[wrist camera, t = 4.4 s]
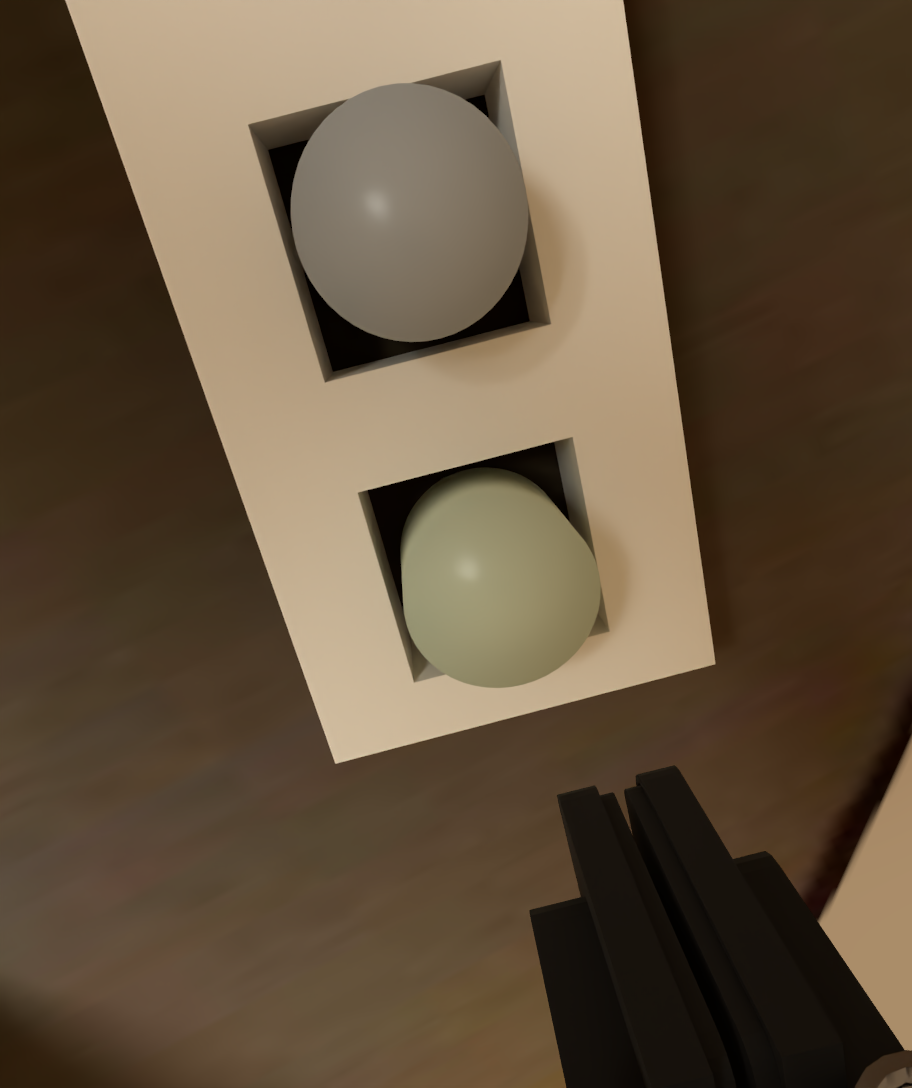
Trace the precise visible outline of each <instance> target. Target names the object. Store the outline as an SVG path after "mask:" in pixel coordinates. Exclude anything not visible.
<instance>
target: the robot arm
mask: <svg viewBox="0 0 912 1088" xmlns="http://www.w3.org/2000/svg"><path fill="white" fill-rule="evenodd" d="M636 785H637V786H636V787H632V788H628V789H625V790H624V793H625V799H626V804H627V809H628V814H629V819H630V824H631V829H632V833H631V831H630V829H629V827H628V824H627V822H626V820H625V817H624V815H623V813H622V811H621V808H620V806H619V804H618V801H617V799H616V797H615V795H614V793H613V792H612V793H608V794H604V795H599V793H598V791H597V788H596V787H595V786H591V787H587V788H583V789H579V790H575V791H571V792H567V793H563V794H559V795H557V798H558V803H559V807H560V811H561V815H562V820H563V824H564V828H565V832H566V836H567V841H568V845H569V849H570V853H571V857H572V862H573V866H574V870H575V874H576V878H577V882H578V887H579V891H580V895H581V897H580V898H576V899H572V900H568V901H564V902H560V903H556V904H552V905H548V906H544V907H540V908H536V909H532V910H530V917H531V922H532V926H533V931H534V936H535V941H536V945H537V950H538V955H539V960H540V964H541V969H542V974H543V979H544V983H545V988H546V993H547V997H548V1002H549V1007H550V1012H551V1016H552V1021H553V1026H554V1031H555V1035H556V1040H557V1045H558V1049H559V1054H560V1059H561V1064H562V1068H563V1073H564V1078H565V1083H566V1087H567V1088H912V1051H909V1050H908V1051H907V1050H904V1049H903V1047H902V1045H901V1044H900V1043H899V1041H898V1040H897V1038H896V1037H895V1035H894V1034H893V1032H892V1031H891V1029H890V1028H889V1026H888V1025H887V1023H886V1022H885V1020H884V1019H883V1017H882V1016H881V1015H880V1013H879V1012H878V1010H877V1009H876V1007H875V1006H874V1004H873V1003H872V1001H871V1000H870V998H869V997H868V996H867V994H866V992H865V991H864V990H863V988H862V986H861V985H860V984H859V982H858V981H857V979H856V978H855V976H854V975H853V973H852V972H851V970H850V969H849V967H848V966H847V964H846V963H845V961H844V960H843V958H842V957H841V956H840V954H839V953H838V951H837V950H836V948H835V947H834V945H833V944H832V942H831V941H830V939H829V938H828V936H827V935H826V934H825V932H824V931H823V929H822V928H821V926H820V925H819V923H818V922H817V920H816V919H815V917H814V916H813V914H812V913H811V911H810V910H809V908H808V907H807V905H806V904H805V902H804V901H803V900H802V898H801V897H800V895H799V894H798V892H797V891H796V889H795V888H794V886H793V885H792V883H791V882H790V880H789V879H788V877H787V876H786V875H785V873H784V872H783V870H782V869H781V867H780V866H779V864H778V863H777V862H776V860H775V859H774V858H773V857H772V855H770V854H769V853H768V852H766V851H764V852H760V853H756V854H752V855H748V856H744V857H740V858H736V859H732V857H731V856H730V854H729V852H728V851H727V849H726V847H725V846H724V844H723V842H722V841H721V839H720V837H719V836H718V834H717V832H716V831H715V829H714V827H713V826H712V824H711V822H710V821H709V819H708V817H707V816H706V814H705V812H704V811H703V809H702V807H701V806H700V804H699V802H698V801H697V799H696V797H695V796H694V794H693V792H692V791H691V789H690V787H689V786H688V784H687V782H686V781H685V779H684V777H683V776H682V774H681V772H680V771H679V769H678V768H677V767H676V766H670V767H666V768H662V769H658V770H654V771H650V772H646V773H642V774H638V775H636ZM632 834H633V836H632Z"/></svg>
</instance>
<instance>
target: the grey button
mask: <svg viewBox="0 0 912 1088" xmlns="http://www.w3.org/2000/svg"><path fill="white" fill-rule="evenodd" d="M291 223H292V232H293V237H294V241H295V245H296V249H297V252H298V255H299V258H300V260H301V263H302V266H303V268H304V270H305V272H306V274H307V276H308V278H309V280H310V281H311V283H312V284H313V286H314V287H315V289H316V290H317V292H318V293H319V294H320V295H321V297H322V298H323V299H324V300H325V301H326V302H327V304H328V305H329V306H330V307H331V308H332V309H334V310H335V311H336V312H337V313H338V314H339V315H340V316H341V317H343V318H344V319H346V320H347V321H349V322H350V323H351V324H353V325H354V326H356V327H358V328H360V329H362V330H364V331H366V332H368V333H371V334H373V335H376V336H379V337H382V338H386V339H390V340H395V341H405V342H422V341H430V340H435V339H440V338H443V337H446V336H449V335H452V334H455V333H457V332H459V331H461V330H463V329H465V328H467V327H469V326H470V325H472V324H473V323H475V322H476V321H478V320H479V319H481V318H482V317H483V316H484V315H485V314H486V313H487V312H489V311H490V310H491V309H492V308H493V307H494V305H495V304H496V303H497V302H498V301H499V300H500V299H501V297H502V296H503V295H504V293H505V292H506V290H507V289H508V287H509V286H510V284H511V282H512V280H513V278H514V276H515V274H516V272H517V270H518V267H519V265H520V262H521V259H522V256H523V253H524V248H525V244H526V240H527V231H528V201H527V194H526V188H525V184H524V180H523V176H522V172H521V170H520V167H519V165H518V162H517V159H516V157H515V155H514V153H513V151H512V150H511V148H510V146H509V144H508V142H507V141H506V139H505V138H504V137H503V135H502V134H501V132H500V131H499V129H498V128H497V127H496V126H495V125H494V124H493V123H492V122H491V121H490V119H489V118H488V117H487V116H486V115H484V114H483V113H482V112H481V111H480V110H478V109H477V108H476V107H475V106H474V105H472V104H471V103H469V102H467V101H466V100H464V99H463V98H461V97H459V96H457V95H455V94H453V93H450V92H448V91H446V90H443V89H440V88H436V87H433V86H429V85H422V84H415V83H397V84H390V85H384V86H379V87H376V88H373V89H370V90H367V91H364V92H362V93H360V94H358V95H356V96H354V97H352V98H350V99H349V100H347V101H346V102H344V103H343V104H342V105H340V106H339V107H337V108H336V109H335V110H334V111H333V112H332V113H331V114H330V115H329V116H328V117H327V118H325V119H324V120H323V122H322V123H321V124H320V126H319V127H318V128H317V129H316V131H315V132H314V133H313V135H312V136H311V138H310V140H309V142H308V143H307V145H306V147H305V148H304V151H303V153H302V156H301V158H300V160H299V163H298V166H297V169H296V173H295V177H294V180H293V187H292V194H291Z"/></svg>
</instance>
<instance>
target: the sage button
mask: <svg viewBox="0 0 912 1088" xmlns="http://www.w3.org/2000/svg"><path fill="white" fill-rule="evenodd" d="M400 552H401V571H402V591H403V607H404V616H405V620H406V625H407V628H408V630H409V633H410V636H411V638H412V639H413V641H414V643H415V645H416V647H417V648H418V649H419V651H420V652H421V653H422V655H423V656H424V657H425V658H426V659H427V660H428V661H429V662H430V663H431V664H432V665H433V666H434V667H436V668H437V669H438V670H440V671H441V672H443V673H444V674H446V675H448V676H449V677H451V678H453V679H456V680H458V681H460V682H463V683H466V684H470V685H473V686H479V687H486V688H505V687H514V686H519V685H524V684H527V683H530V682H533V681H536V680H538V679H540V678H542V677H545V676H547V675H548V674H550V673H552V672H553V671H555V670H557V669H558V668H559V667H561V666H562V665H563V664H565V663H566V662H567V661H568V660H569V659H570V658H571V657H572V656H573V655H574V654H575V653H576V652H577V651H578V650H579V648H580V647H581V646H582V645H583V643H584V642H585V640H586V639H587V637H588V635H589V634H590V632H591V630H592V627H593V625H594V623H595V620H596V617H597V613H598V610H599V604H600V594H601V585H600V576H599V572H598V568H597V564H596V561H595V559H594V557H593V554H592V552H591V550H590V549H589V547H588V545H587V544H586V542H585V541H584V539H583V538H582V537H581V536H580V535H579V533H578V532H577V531H576V530H575V528H574V527H573V526H572V525H571V524H570V522H569V521H568V520H567V519H566V518H565V516H564V515H563V514H562V513H561V511H560V510H559V509H558V508H557V507H556V505H555V504H554V503H553V502H552V500H551V499H550V498H549V497H548V496H547V494H546V493H545V492H544V491H543V490H542V489H541V488H540V487H539V486H537V485H536V484H535V483H533V482H532V481H530V480H529V479H527V478H526V477H524V476H522V475H520V474H517V473H514V472H511V471H509V470H504V469H499V468H488V467H484V468H473V469H467V470H463V471H460V472H457V473H454V474H452V475H450V476H447V477H445V478H443V479H442V480H440V481H439V482H437V483H435V484H434V485H433V486H432V487H430V488H429V489H428V490H427V491H426V492H425V493H424V494H423V495H422V496H421V497H420V498H419V499H418V500H417V502H416V503H415V505H414V506H413V508H412V509H411V511H410V513H409V515H408V517H407V519H406V522H405V525H404V528H403V532H402V537H401V547H400Z"/></svg>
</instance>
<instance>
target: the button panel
mask: <svg viewBox="0 0 912 1088" xmlns="http://www.w3.org/2000/svg"><path fill="white" fill-rule="evenodd" d="M65 1H66V3H67V6H68V9H69V12H70V15H71V18H72V20H73V23H74V26H75V29H76V32H77V34H78V37H79V40H80V43H81V46H82V49H83V51H84V54H85V57H86V60H87V63H88V66H89V68H90V71H91V74H92V77H93V80H94V83H95V85H96V88H97V91H98V94H99V97H100V99H101V102H102V105H103V108H104V111H105V114H106V116H107V119H108V122H109V125H110V128H111V131H112V133H113V136H114V139H115V142H116V145H117V148H118V150H119V153H120V156H121V159H122V162H123V164H124V167H125V170H126V173H127V176H128V179H129V181H130V184H131V187H132V190H133V193H134V196H135V198H136V201H137V204H138V207H139V210H140V213H141V215H142V218H143V221H144V224H145V227H146V230H147V232H148V235H149V238H150V241H151V244H152V246H153V249H154V252H155V255H156V258H157V261H158V263H159V266H160V269H161V272H162V275H163V278H164V280H165V283H166V286H167V289H168V292H169V295H170V297H171V300H172V303H173V306H174V309H175V311H176V314H177V317H178V320H179V323H180V326H181V328H182V331H183V334H184V337H185V340H186V343H187V345H188V348H189V351H190V354H191V357H192V360H193V362H194V365H195V368H196V371H197V374H198V376H199V379H200V382H201V385H202V388H203V391H204V393H205V396H206V399H207V402H208V405H209V408H210V410H211V413H212V416H213V419H214V422H215V425H216V427H217V430H218V433H219V436H220V439H221V441H222V444H223V447H224V450H225V453H226V456H227V458H228V461H229V464H230V467H231V470H232V473H233V475H234V478H235V481H236V484H237V487H238V490H239V492H240V495H241V498H242V501H243V504H244V506H245V509H246V512H247V515H248V518H249V521H250V523H251V526H252V529H253V532H254V535H255V538H256V540H257V543H258V546H259V549H260V552H261V555H262V557H263V560H264V563H265V566H266V569H267V571H268V574H269V577H270V580H271V583H272V586H273V588H274V591H275V594H276V597H277V600H278V603H279V605H280V608H281V611H282V614H283V617H284V620H285V622H286V625H287V628H288V631H289V634H290V637H291V639H292V642H293V645H294V648H295V651H296V653H297V656H298V659H299V662H300V665H301V668H302V670H303V673H304V676H305V679H306V682H307V685H308V687H309V690H310V693H311V696H312V699H313V702H314V704H315V707H316V710H317V713H318V716H319V718H320V721H321V724H322V727H323V730H324V733H325V735H326V738H327V741H328V744H329V747H330V750H331V752H332V755H333V758H334V761H335V764H336V763H340V762H344V761H348V760H351V759H355V758H359V757H363V756H367V755H371V754H374V753H378V752H382V751H386V750H390V749H393V748H397V747H401V746H405V745H409V744H413V743H416V742H420V741H424V740H428V739H432V738H435V737H439V736H443V735H447V734H451V733H455V732H458V731H462V730H466V729H470V728H474V727H477V726H481V725H485V724H489V723H493V722H497V721H500V720H504V719H508V718H512V717H516V716H519V715H523V714H527V713H531V712H535V711H539V710H542V709H546V708H550V707H554V706H558V705H561V704H565V703H569V702H573V701H577V700H581V699H584V698H588V697H592V696H596V695H600V694H604V693H607V692H611V691H615V690H619V689H623V688H626V687H630V686H634V685H638V684H642V683H646V682H649V681H653V680H657V679H661V678H665V677H668V676H672V675H676V674H680V673H684V672H688V671H691V670H695V669H699V668H703V667H707V666H710V665H714V664H715V657H714V649H713V642H712V635H711V628H710V621H709V614H708V606H707V599H706V592H705V585H704V578H703V570H702V563H701V556H700V549H699V542H698V535H697V527H696V520H695V513H694V506H693V499H692V491H691V484H690V477H689V470H688V463H687V455H686V448H685V441H684V434H683V427H682V420H681V412H680V405H679V398H678V391H677V384H676V376H675V369H674V362H673V355H672V348H671V341H670V333H669V326H668V319H667V312H666V305H665V297H664V290H663V283H662V276H661V269H660V262H659V254H658V247H657V240H656V233H655V226H654V218H653V211H652V204H651V197H650V190H649V182H648V175H647V168H646V161H645V154H644V147H643V139H642V132H641V125H640V118H639V111H638V103H637V96H636V89H635V82H634V75H633V68H632V60H631V53H630V46H629V39H628V32H627V24H626V17H625V10H624V3H623V0H65ZM397 83H415V84H422V85H429V86H433V87H436V88H440V89H443V90H446V91H448V92H450V93H453V94H455V95H457V96H459V97H461V98H463V99H464V100H465V99H469V98H473V97H477V96H481V95H485V99H486V104H487V109H488V114H489V119H490V121H491V122H492V123H493V124H494V125H495V126H496V127H497V128H498V129H499V131H500V132H501V134H502V135H503V137H504V138H505V139H506V141H507V142H508V144H509V146H510V148H511V150H512V151H513V153H514V155H515V157H516V159H517V162H518V165H519V167H520V170H521V172H522V176H523V180H524V184H525V188H526V194H527V201H528V231H527V240H526V244H525V248H524V253H523V256H522V259H521V262H520V265H519V270H520V275H521V280H522V285H523V290H524V295H525V300H526V305H527V310H528V315H529V320H530V321H529V322H525V323H521V324H517V325H513V326H509V327H505V328H502V329H498V330H494V331H490V332H486V333H482V334H478V335H474V336H470V337H467V338H463V339H459V340H455V341H451V342H447V343H443V344H439V345H436V346H432V347H428V348H424V349H420V350H416V351H412V352H408V353H405V354H401V355H397V356H393V357H389V358H385V359H381V360H377V361H374V362H370V363H366V364H362V365H358V366H354V367H350V368H346V369H343V370H339V371H335V372H333V370H332V367H331V364H330V360H329V357H328V353H327V350H326V346H325V343H324V340H323V336H322V333H321V329H320V326H319V323H318V319H317V316H316V312H315V309H314V305H313V302H312V299H311V295H310V292H309V288H308V285H307V282H306V278H305V275H304V271H303V268H302V264H301V261H300V258H299V255H298V252H297V249H296V245H295V241H294V237H293V234H292V230H291V227H290V223H289V220H288V217H287V213H286V210H285V206H284V203H283V200H282V196H281V193H280V189H279V186H278V182H277V179H276V176H275V172H274V169H273V165H272V162H271V159H270V155H269V152H268V150H270V149H274V148H277V147H281V146H285V145H289V144H293V143H297V142H301V141H305V140H309V139H310V138H311V136H312V135H313V133H314V132H315V131H316V129H317V128H318V127H319V126H320V124H321V123H322V122H323V120H324V119H325V118H327V117H328V116H329V115H330V114H331V113H332V112H333V111H334V110H335V109H336V108H337V107H339V106H340V105H342V104H343V103H344V102H346V101H347V100H349V99H350V98H352V97H354V96H356V95H358V94H360V93H362V92H364V91H367V90H370V89H373V88H376V87H379V86H384V85H390V84H397ZM551 442H554V445H555V450H556V455H557V460H558V465H559V470H560V475H561V480H562V485H563V490H564V495H565V500H566V505H567V510H568V515H569V520H570V524H571V525H572V526H573V527H574V528H575V530H576V531H577V532H578V533H579V535H580V536H581V537H582V538H583V539H584V541H585V542H586V544H587V545H588V547H589V549H590V550H591V552H592V554H593V557H594V559H595V561H596V564H597V568H598V572H599V576H600V585H601V594H600V604H599V610H598V613H597V617H596V620H595V623H594V625H593V627H592V630H591V632H590V634H589V635H588V637H587V639H586V640H585V642H584V643H583V645H582V646H581V647H580V648H579V650H578V651H577V652H576V653H575V654H574V655H573V656H572V657H571V658H570V659H569V660H568V661H567V662H566V663H565V664H563V665H562V666H561V667H559V668H558V669H557V670H555V671H553V672H552V673H550V674H548V675H547V676H545V677H542V678H540V679H538V680H536V681H533V682H530V683H527V684H524V685H519V686H514V687H505V688H486V687H479V686H473V685H470V684H466V683H463V682H460V681H458V680H456V679H453V678H451V677H449V676H448V675H446V674H444V673H443V672H441V671H440V670H438V669H437V668H436V667H434V666H433V665H432V664H431V663H430V662H429V661H428V660H427V659H426V658H425V657H424V656H423V655H422V653H421V652H420V651H419V649H418V648H417V647H416V645H415V643H414V641H413V639H412V638H411V637H410V633H409V630H408V628H407V625H406V620H405V616H404V613H403V609H402V606H401V603H400V599H399V596H398V592H397V589H396V586H395V582H394V579H393V575H392V572H391V568H390V565H389V562H388V558H387V555H386V551H385V548H384V545H383V541H382V538H381V534H380V531H379V527H378V524H377V521H376V517H375V514H374V510H373V507H372V504H371V500H370V497H369V493H368V490H370V489H374V488H377V487H381V486H385V485H389V484H393V483H397V482H401V481H404V480H408V479H412V478H416V477H420V476H424V475H428V474H431V473H435V472H439V471H443V470H447V469H451V468H455V467H458V466H462V465H466V464H470V463H474V462H478V461H482V460H485V459H489V458H493V457H497V456H501V455H505V454H509V453H512V452H516V451H520V450H524V449H528V448H532V447H536V446H539V445H543V444H547V443H551Z"/></svg>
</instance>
